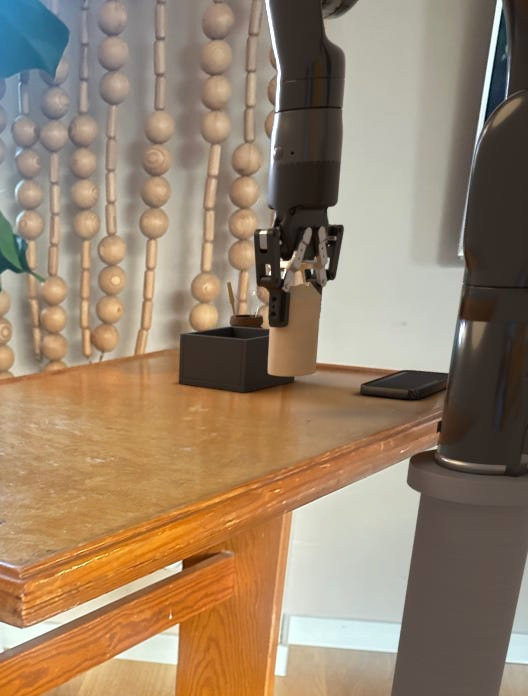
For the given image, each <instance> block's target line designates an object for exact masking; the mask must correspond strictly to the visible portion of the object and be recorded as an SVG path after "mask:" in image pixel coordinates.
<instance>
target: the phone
mask: <svg viewBox="0 0 528 696" xmlns="http://www.w3.org/2000/svg"><path fill="white" fill-rule="evenodd" d="M448 374H449V372H442V371H441V372H440V371H430V370H429V371H427V370H417V369H401V370H399V371H396V372H393V373H390V374H387V375H383V376H380V377H378V378H375V379H371V380H369V381H367V382H366V381H365V382H363V383H361V384H360V388H359V394H360V395H365V396H366V395H367V396H376V397H385V398H395V399H405V400H418V399H422V398H424V397H426V396H429V395H431V394H434V393H436V392H439V391H441V390H444V389H446V387H447V380H448Z"/></svg>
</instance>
